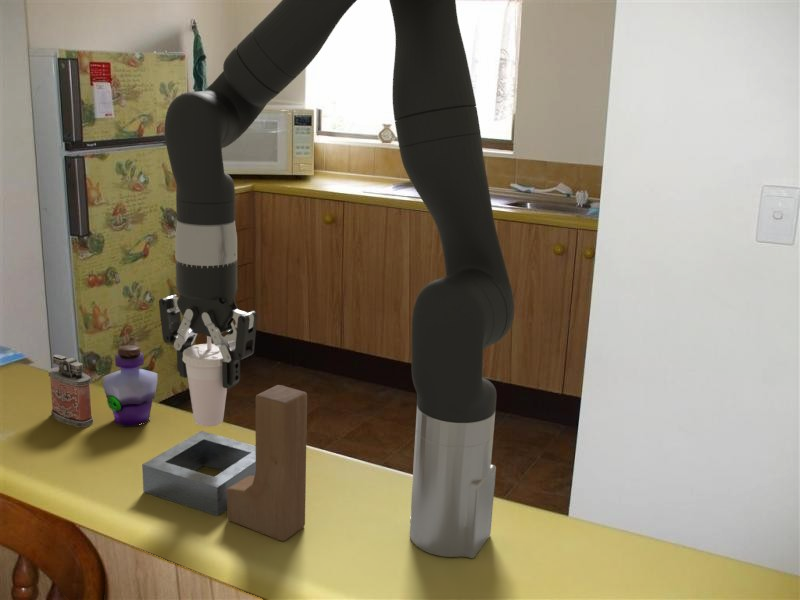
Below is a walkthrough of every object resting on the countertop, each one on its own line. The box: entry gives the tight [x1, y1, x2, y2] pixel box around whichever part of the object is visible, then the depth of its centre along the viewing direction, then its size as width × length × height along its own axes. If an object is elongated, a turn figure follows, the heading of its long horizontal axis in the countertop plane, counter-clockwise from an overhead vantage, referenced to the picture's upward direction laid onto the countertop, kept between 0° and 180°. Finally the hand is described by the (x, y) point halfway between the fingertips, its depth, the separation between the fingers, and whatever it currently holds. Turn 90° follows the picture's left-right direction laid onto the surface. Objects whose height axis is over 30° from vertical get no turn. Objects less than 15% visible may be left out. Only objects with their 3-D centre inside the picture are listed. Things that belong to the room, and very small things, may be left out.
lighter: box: [47, 354, 94, 428], centre depth 130 cm, size 8×3×10 cm, turn 58°
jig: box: [142, 430, 256, 517], centre depth 113 cm, size 12×12×4 cm
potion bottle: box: [102, 344, 158, 428], centre depth 131 cm, size 9×9×12 cm
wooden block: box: [226, 384, 308, 542], centre depth 103 cm, size 9×4×18 cm, turn 60°
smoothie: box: [182, 335, 231, 427], centre depth 110 cm, size 6×6×14 cm
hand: (208, 380), depth 110 cm, fingers closed on smoothie, 6 cm apart
